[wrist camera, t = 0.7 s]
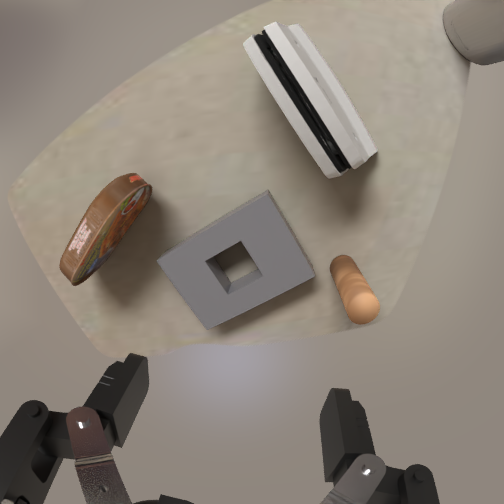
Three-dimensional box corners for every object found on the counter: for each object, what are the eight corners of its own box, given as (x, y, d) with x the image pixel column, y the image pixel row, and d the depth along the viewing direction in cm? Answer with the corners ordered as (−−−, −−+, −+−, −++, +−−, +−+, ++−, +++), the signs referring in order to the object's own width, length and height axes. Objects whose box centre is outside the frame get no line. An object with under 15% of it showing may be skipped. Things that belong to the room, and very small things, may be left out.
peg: (348, 250, 35) (373, 288, 26) (358, 271, 36) (384, 314, 26) (325, 262, 36) (342, 305, 26) (336, 283, 36) (355, 329, 27)
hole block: (268, 189, 33) (267, 193, 31) (312, 265, 36) (315, 276, 33) (164, 251, 37) (156, 260, 34) (211, 317, 39) (206, 330, 36)
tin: (100, 271, 38) (66, 300, 30) (83, 255, 38) (47, 281, 30) (163, 182, 34) (132, 194, 26) (143, 164, 33) (108, 172, 25)
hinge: (379, 151, 31) (382, 174, 23) (342, 169, 34) (331, 196, 25) (299, 23, 27) (272, 0, 19) (264, 44, 29) (226, 31, 21)
